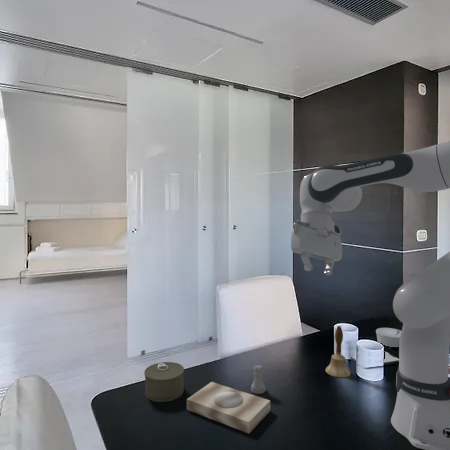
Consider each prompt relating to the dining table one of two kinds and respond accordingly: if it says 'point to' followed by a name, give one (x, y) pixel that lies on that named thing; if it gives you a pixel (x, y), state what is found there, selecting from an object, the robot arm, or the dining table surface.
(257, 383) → the rook chess piece
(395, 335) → the ramekin
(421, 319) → the robot arm
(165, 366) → the can
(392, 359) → the phone case
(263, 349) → the dining table surface
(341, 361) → the hand bell
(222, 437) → the dining table surface
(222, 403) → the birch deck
